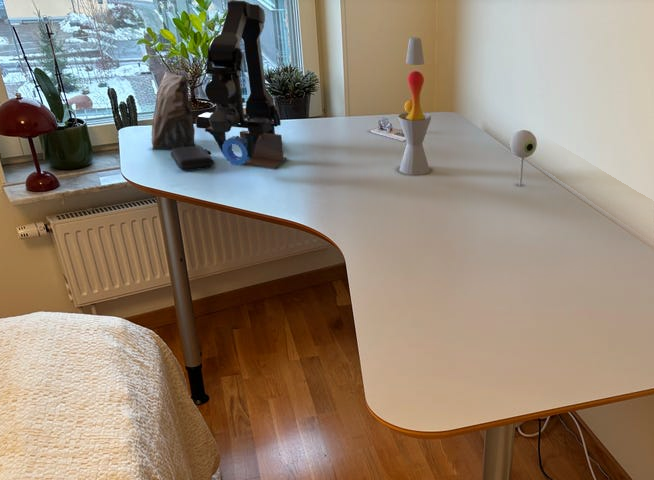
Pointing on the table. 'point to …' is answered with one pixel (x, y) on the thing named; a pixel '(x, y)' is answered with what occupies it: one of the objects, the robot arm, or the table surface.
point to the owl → (172, 115)
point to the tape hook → (266, 151)
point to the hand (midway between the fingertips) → (237, 156)
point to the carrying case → (192, 158)
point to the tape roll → (230, 154)
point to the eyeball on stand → (523, 146)
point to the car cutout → (388, 130)
